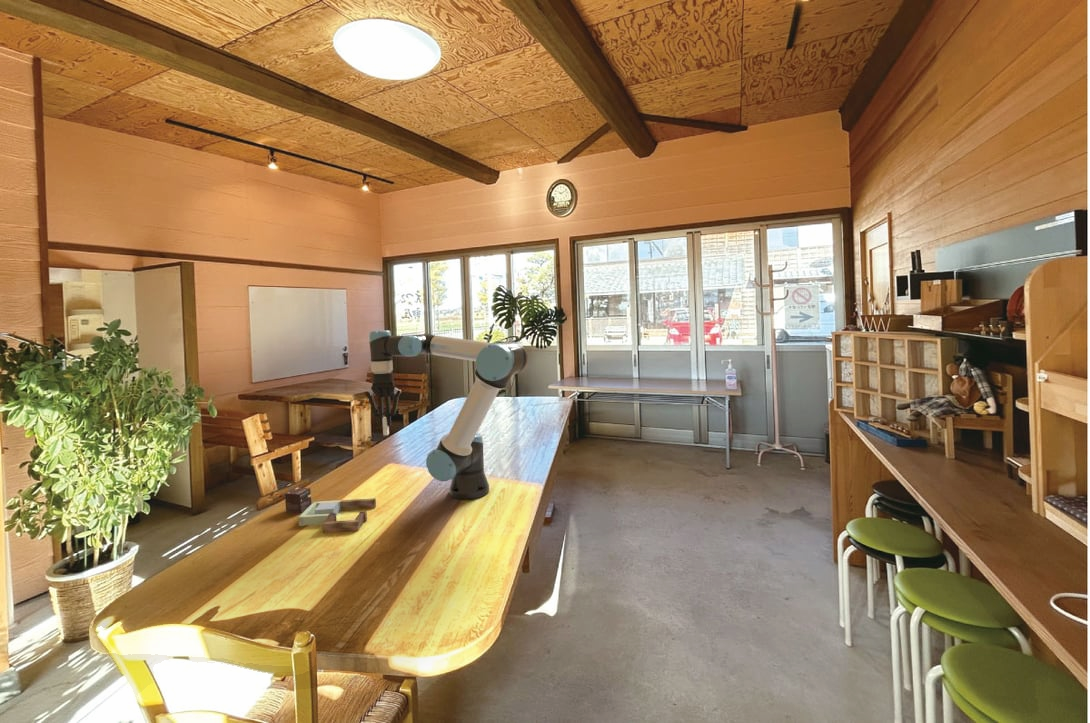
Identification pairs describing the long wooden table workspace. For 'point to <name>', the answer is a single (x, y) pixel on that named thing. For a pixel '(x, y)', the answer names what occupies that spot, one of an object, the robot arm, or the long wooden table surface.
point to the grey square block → (327, 508)
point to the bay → (312, 519)
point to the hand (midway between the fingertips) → (386, 434)
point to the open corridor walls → (351, 525)
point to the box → (297, 500)
